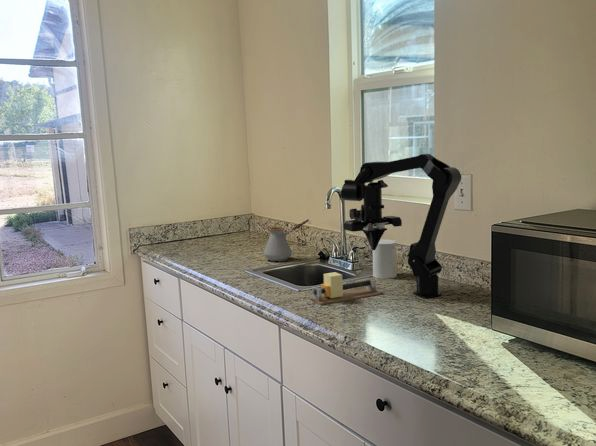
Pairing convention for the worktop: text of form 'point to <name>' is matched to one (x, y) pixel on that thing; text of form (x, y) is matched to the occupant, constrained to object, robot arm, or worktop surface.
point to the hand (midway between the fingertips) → (373, 250)
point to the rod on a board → (346, 292)
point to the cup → (385, 260)
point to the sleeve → (334, 284)
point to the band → (326, 290)
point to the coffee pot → (279, 244)
